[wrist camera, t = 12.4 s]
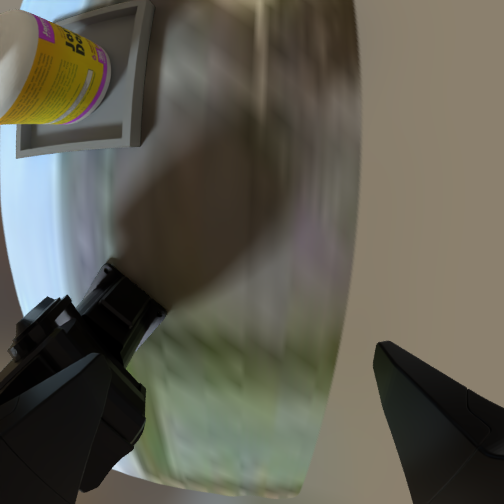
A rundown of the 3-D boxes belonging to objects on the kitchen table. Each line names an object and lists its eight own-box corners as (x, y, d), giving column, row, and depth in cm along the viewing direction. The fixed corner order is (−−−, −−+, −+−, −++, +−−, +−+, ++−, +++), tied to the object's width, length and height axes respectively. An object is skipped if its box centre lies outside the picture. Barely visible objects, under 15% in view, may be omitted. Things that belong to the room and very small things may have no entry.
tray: (140, 146, 19) (129, 146, 17) (29, 156, 19) (16, 158, 17) (155, 7, 15) (147, -3, 13) (42, 37, 15) (30, 33, 13)
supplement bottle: (131, 65, 16) (4, 6, 4) (81, 140, 18) (-61, 158, 6) (78, 33, 15) (-36, -13, 3) (35, 101, 17) (-88, 102, 5)
